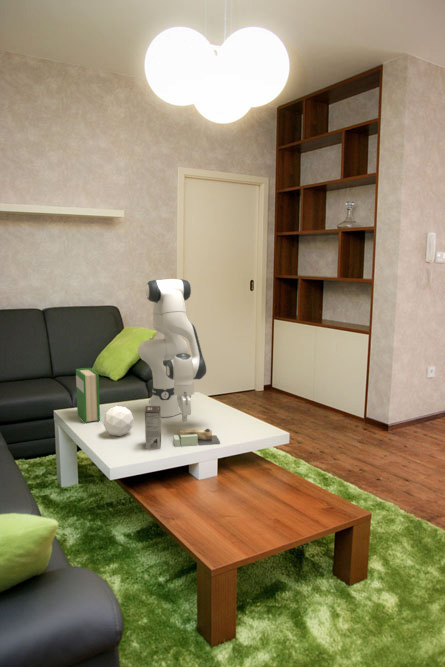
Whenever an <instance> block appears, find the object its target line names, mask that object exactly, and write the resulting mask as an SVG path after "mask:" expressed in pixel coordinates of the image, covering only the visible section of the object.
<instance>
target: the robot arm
mask: <svg viewBox="0 0 445 667" xmlns="http://www.w3.org/2000/svg"><path fill="white" fill-rule="evenodd" d="M144 292H145V293H144V294H145V296H146V299H147V300H148V301H149V302H152V303H153V304H152V328H153V329H154V331H156V332H158V333H160V334H162V335H163V338H157V339H154V338H153V339H146V340H143V341H141V343H139V345H138V347H137V352H138V356H139V358H140V359H141V360H142V361H144V362H145V363H146V364H147V365H148V366H149V368H150V370H151V373H152V389H151V392H152V396H151V397H150V398H149V399H148V404H149V405H148V406H160V408H161V418H168V417H174V416H177V415H179V414H181V417H182V418H181V420H182V422H187V421H188V416H191V415H192V405H191V398H192V396H193V395H194V394H195V388H194V386H195V385H194V380H201V379H203V378H204V376H206V373H207V366H206V365H207V364H206V362H205V359H204V356H203V353H202V349H201V345H200V341H199V337H198V333H197V330H196V326H194V324H193V323H191V322H190V320H189V319H188V316H187V308H186V301H188V300H189V298H190V297H191V294H192V287H191V284H190V282H189V281H188V280H187V279H184V278H183V279H182V278H181V279H177V278H167V279H157V280H156V279H151V280H149V281H148V282H147V283H146V285H145V291H144ZM181 336H182V337H181ZM183 338H185V339H186V340H187V342H186V340H185V339H183ZM188 343H189V345H188ZM189 347H190V352H191V354H189ZM164 361H168V362H167V363H166V365H164Z"/></svg>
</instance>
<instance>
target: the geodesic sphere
mask: <svg viewBox="0 0 445 667" xmlns="http://www.w3.org/2000/svg"><path fill="white" fill-rule="evenodd" d="M134 421H135V420H134V416H133V413H132V411H131V410H130V409H128V408H127V407H125V406H122V405H120V404H117V405H116V406H112V407H111V408H108V410H107V411H106V413H105V414H104V416H103V422H102V423H103V426H104V429H105V432H107V433H109V434H110V435H111V436H116V437H117V436H118V437H121V436H125V435H127V434H129V432H130V431H131V429H132V428H133V425H134Z"/></svg>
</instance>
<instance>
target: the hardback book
mask: <svg viewBox="0 0 445 667" xmlns="http://www.w3.org/2000/svg"><path fill="white" fill-rule="evenodd" d="M99 380H100V375H99V372H97V371H96V370H94V369H93V368H92V367H83V368H75V381H76V382H75V383H76V384H75V385H76V386H75V387H76V411H77V412H76V413H77V414H78V415H77V416H78V417H79V419H80V418H81V419H82V420H83V421H82V420H81V419H80V420H81V421H82V422H83V424H85V423H86V424H87V423H88V422H94V421H97V422H98V423H100V422H101V412H100V411H101V408H100V404H101V402H100V381H99ZM99 421H100V422H99Z"/></svg>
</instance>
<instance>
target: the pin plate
mask: <svg viewBox="0 0 445 667" xmlns="http://www.w3.org/2000/svg"><path fill="white" fill-rule="evenodd" d="M220 444H221V442H220V439H219V436H217V435H215V434H212V439H210V440H206V439H198V445H199V446H208V445H209V446H210V445H220Z"/></svg>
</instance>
